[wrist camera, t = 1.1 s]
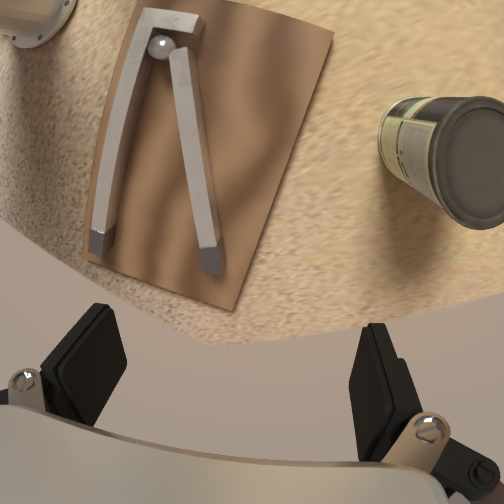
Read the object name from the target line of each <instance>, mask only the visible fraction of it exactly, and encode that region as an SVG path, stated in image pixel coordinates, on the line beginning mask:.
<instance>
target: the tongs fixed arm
mask: <svg viewBox="0 0 504 504" xmlns="http://www.w3.org/2000/svg"><path fill="white" fill-rule="evenodd" d="M205 23H206V22H205V21H204V20H203V19H202V18H201V16H200V15H197V14H191V13H185V12H178V11H172V10H164V9H156V8H146V7H144V8H143V10H142V13H141V15H140V18H139V21H138V23H137V26H136V29H135V32H134V35H133V38H132V41H131V44H130V47H129V50H128V53H127V56H126V59H125V62H124V66H123V69H122V73H121V76H120V80H119V83H118V87H117V90H116V94H115V98H114V102H113V106H112V110H111V114H110V119H109V123H108V128H107V132H106V137H105V142H104V147H103V152H102V157H101V163H100V169H99V175H98V181H97V187H96V194H95V202H94V209H93V218H92V227H91V228H90V231H89V242H88V252H89V253H92V254H95V255H97V256H100V257H103V256H104V255H105V254H106V253H107V252H108V251H109V250H110V249H111V248H112V247H113V246H114V239H115V232H116V225H117V224H116V220H117V213H118V207H119V201H120V195H121V190H122V184H123V179H124V174H125V169H126V164H127V159H128V155H129V150H130V146H131V141H132V137H133V133H134V129H135V124H136V120H137V117H138V113H139V109H140V105H141V101H142V98H143V94H144V91H145V87H146V84H147V81H148V77H149V74H150V71H151V67H152V64H153V61H154V57H152V56H151V55H150V54H149V52H148V46H149V43H150V42H151V40H152V39H153V38H155V37H157V36H160V35H163V33H169V34H175V35H180V36H186V37H191V38H196V39H200V37H201V34H202V31H203V28H204V26H205Z"/></svg>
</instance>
